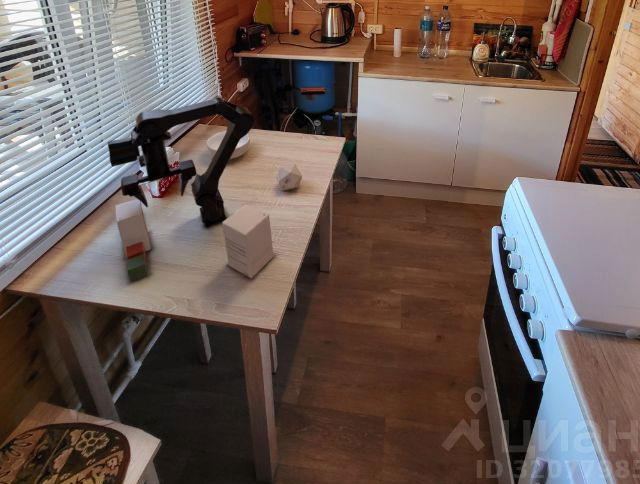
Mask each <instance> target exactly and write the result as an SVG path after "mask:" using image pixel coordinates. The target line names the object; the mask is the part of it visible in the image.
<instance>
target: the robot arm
mask: <svg viewBox="0 0 640 484" xmlns="http://www.w3.org/2000/svg"><path fill="white" fill-rule="evenodd" d="M216 115H219V116H220V117H223V118H224V120H225V119H226V121H227V126H226V131H227V132H226V134H225V136H224V138H223V140H222V142H221V144H220V146H219V148H218V149H217V151H216V153H215V155H214V156H212V159H211V161H210V163H209V165H208V167H207V168H206V170H205V172H204V173H202V174H201V175H200V174H197V168H196V166H195V163H194V160H193V159H187V160H183V161H180V162H179V161H178V167H174V168H170V163H169V158H168V153H167V149H166V144H165V141H169V140H171V139H172V135H171V132H170V130H171V129H172V128H174V127H177V126H180V125H184V124H187V123H191V122H194V121H198V120H202V119H205V118H210V117H213V116H216ZM255 123H256V119H255V116H254V115H253V114H252V112H250V110H249V109H248V108H247V107H246V106H243V105H237V104H234V103H233V102H231V101H227V100H225V99H223V98H222V97H219V96H218V97H214V98H212V99H210V100H205V101H200V102H197V103H193V104H188V105H184V106H181V107H177V108H176V107H175V108H171V109H162V108H159V109H158V108H157V109H149V110H143V111H141V112H139V113H138V115H137V116H136V119H135V126H134V127H133V128H132V131H131V132H130V136H129V137H125V138H120V139H114V140H109V141H107V148H108V153H109V163H110V166H111V168H113V167H117V166H118V167H119V166H121V165H125V164H130V163H133V162H137V161H138V162H139V167H140V168H145V170H146V174H147V175H145V176H141V177H138V174H137V173H134V174H131V175H126V176H123V177H121V179H120V188H121V192H122V196H124V197H127V196H128V197H134V198H136V199H139V200H140V201H141V204H142V205H144V206H145V207H146V208H149V204H148V200H147V198H146V195H145V192H144V190H143V188H142V186H143V185H147V184H150V183H153V182H158V181H161V180H164V179H166V178H171V177H173V176H179V192H180V196H181V197H184V195H185V190H186V187H187V185H188V183H189V181H190V180H192V179H193V177H194V180H193V182H192V183H191V184H190V186H191V194H192V196H193V199H194V202H195V204H196V205H197V206H198V207H199V213H200V219H201V222H202V224H204V226H205V228H209V227H212V226H215V225H217V224H222V222H224V221H225V220H226V219H227V218H228V217H227V215H226V212H225V211H226V210H225V202H224V198H223V196H222V195H221V192H220V190H219V183H220V179H221V177H222V175H223V173H224V171H225V170H226V168H227V165H228V163H229V162H230V160H231V159H230V158H231V156H232V154H233V152H234V150H235V148H236V146H237V144H238V143H239V141H240V139H241V138H243V137H244V136H245V135H247V134H248V135H249V132H250V131H251V130H252V128H253V127H254V125H255ZM139 147H140V148H141V152H142V155H141V152H140V148H139Z"/></svg>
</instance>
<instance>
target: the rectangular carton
mask: <svg viewBox="0 0 640 484" xmlns="http://www.w3.org/2000/svg"><path fill="white" fill-rule="evenodd" d="M226 218H227V219H226V220H225V221H224V222H221V225H222V231H223V239H224V244H225V250H226V257H227V258H226V259H227V263H228V266H229V267H231V268H233V270H236V271H237V272H239V273H241V274H243V275H245V276H246V277H248V278H250V279H252V278H254V277H255V275H257V274H258V272H260V271H261V270H262V268H264V267H265V266H266V264H268V262H270V261H271V259H272V258H273V257H274V256H275V255H274V246H273V238H272V229H271V219H270V218H271V217H270V214H269V213H267V212H264V211H262V210H260V209H258V208H256V207H254V206H252V205H250V204H247V203H246V204H244V205H243V206H242V207H240V208H239V209H238V210H237V211H235V212H234V213H233V214H231V215H230V216H228V217H226Z"/></svg>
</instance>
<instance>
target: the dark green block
mask: <svg viewBox="0 0 640 484" xmlns="http://www.w3.org/2000/svg"><path fill="white" fill-rule="evenodd" d="M126 270H127V274H128V278H129V282H130V283H131V282H135V281H137V280H139V279H142V278H144V277H148V276H149V273H148V266H147V260H146V261H145V257H144V254H142V255H140V256H137V257H134V258H131V259H129V260H127V259H126Z"/></svg>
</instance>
